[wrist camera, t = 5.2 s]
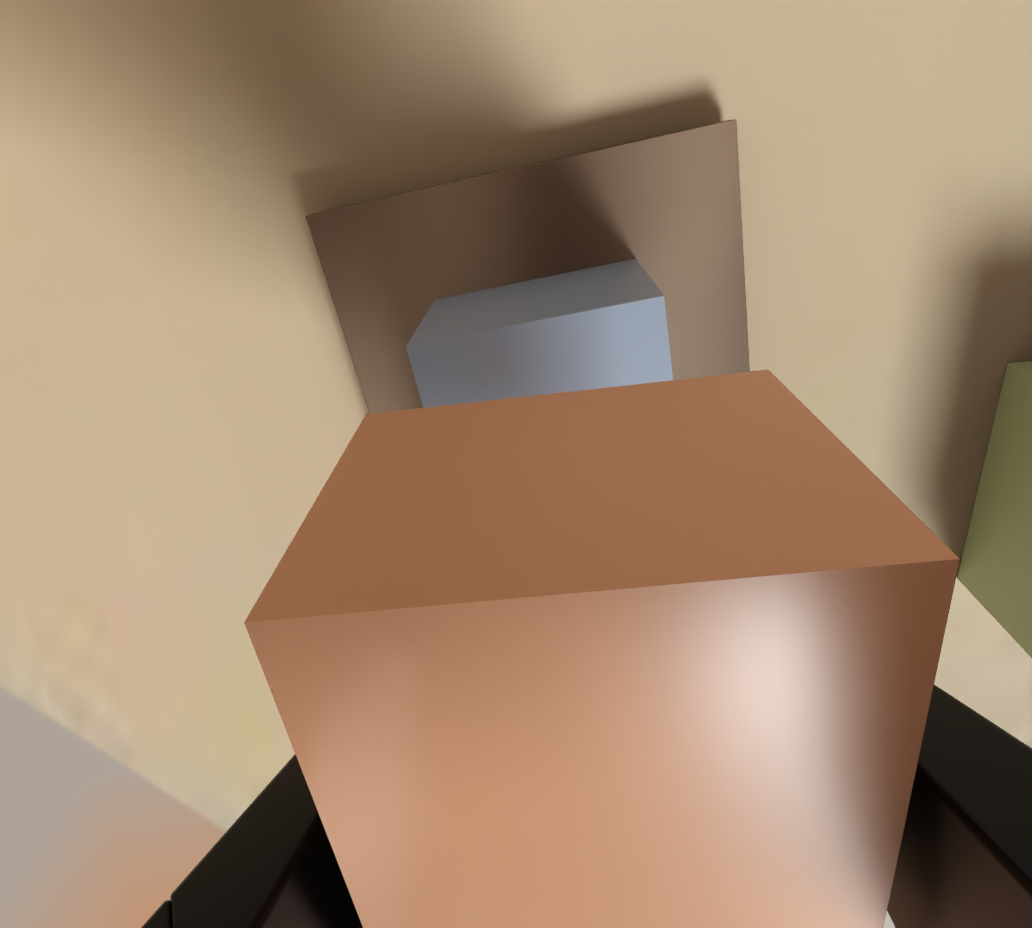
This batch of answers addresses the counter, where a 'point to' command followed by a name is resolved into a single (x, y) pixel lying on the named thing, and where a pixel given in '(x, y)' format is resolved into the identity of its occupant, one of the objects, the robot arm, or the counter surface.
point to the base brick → (543, 337)
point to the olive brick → (1005, 513)
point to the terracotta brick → (609, 662)
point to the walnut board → (547, 248)
